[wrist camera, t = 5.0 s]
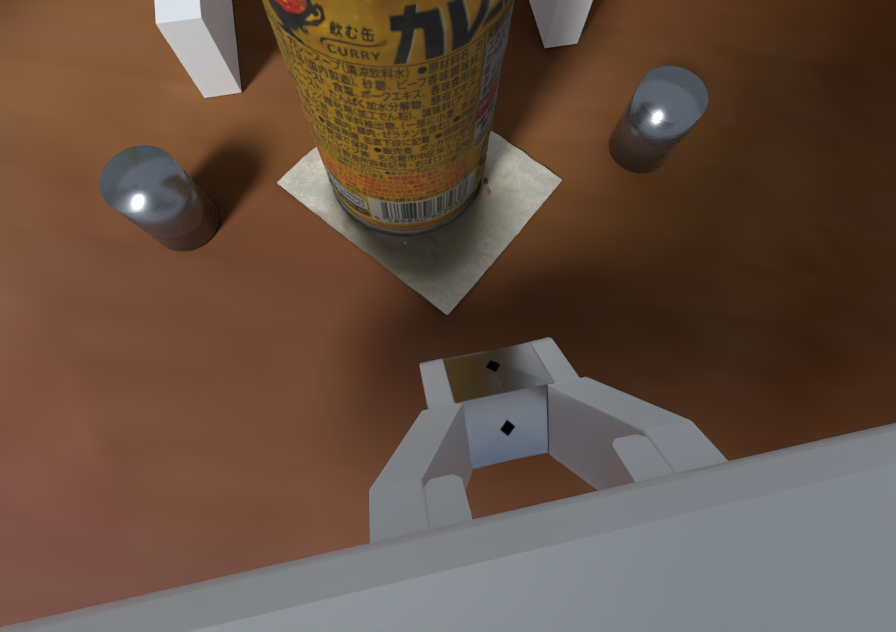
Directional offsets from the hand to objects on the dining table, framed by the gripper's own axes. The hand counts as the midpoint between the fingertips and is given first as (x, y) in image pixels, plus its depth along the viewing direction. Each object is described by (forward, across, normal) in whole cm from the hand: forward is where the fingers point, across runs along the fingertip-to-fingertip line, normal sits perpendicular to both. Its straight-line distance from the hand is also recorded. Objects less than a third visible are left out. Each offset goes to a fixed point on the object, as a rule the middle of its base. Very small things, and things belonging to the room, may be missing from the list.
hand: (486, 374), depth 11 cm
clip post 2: (+10, -9, -2) cm, 14 cm away
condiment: (+10, 0, -2) cm, 11 cm away
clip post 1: (+10, +9, -2) cm, 14 cm away
